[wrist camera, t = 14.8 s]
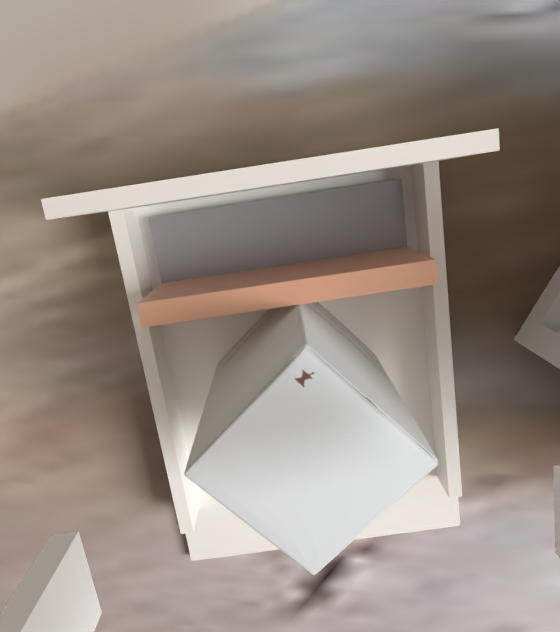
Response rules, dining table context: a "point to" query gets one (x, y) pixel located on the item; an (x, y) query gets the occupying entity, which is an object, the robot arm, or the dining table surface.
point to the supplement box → (306, 435)
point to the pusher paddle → (283, 253)
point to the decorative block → (544, 324)
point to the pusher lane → (353, 312)
